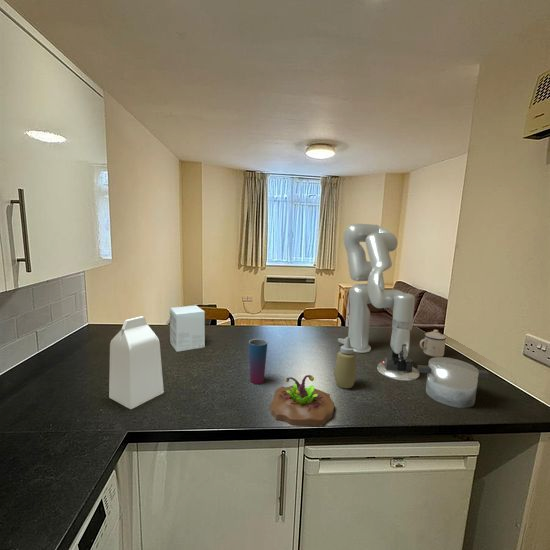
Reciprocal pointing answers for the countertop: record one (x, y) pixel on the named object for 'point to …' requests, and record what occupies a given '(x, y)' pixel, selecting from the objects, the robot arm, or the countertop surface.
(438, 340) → the teacup with lid
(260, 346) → the cup
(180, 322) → the supplement box
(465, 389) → the pot
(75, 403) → the countertop surface
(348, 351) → the squeeze bottle
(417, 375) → the lid
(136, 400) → the milk
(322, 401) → the plant
